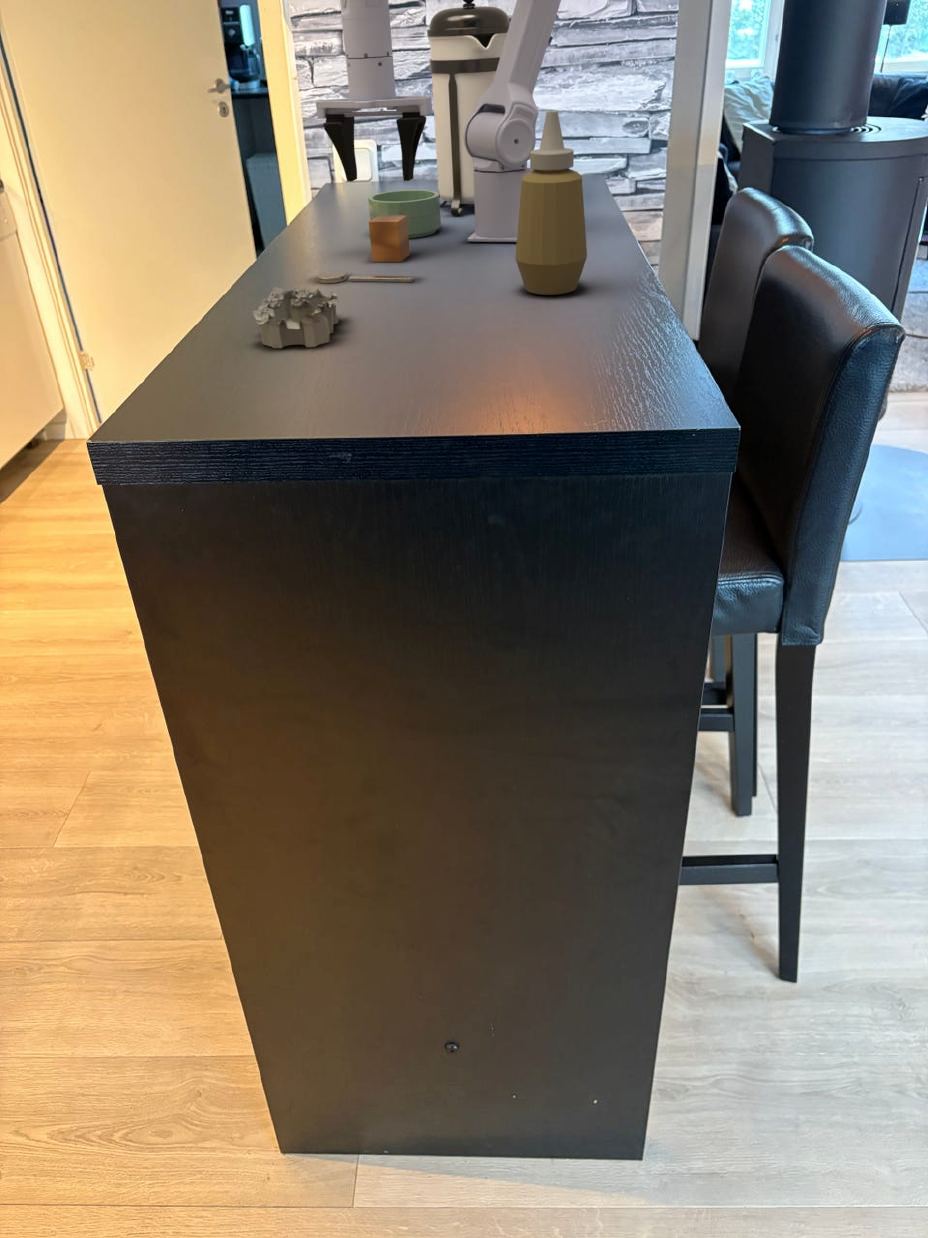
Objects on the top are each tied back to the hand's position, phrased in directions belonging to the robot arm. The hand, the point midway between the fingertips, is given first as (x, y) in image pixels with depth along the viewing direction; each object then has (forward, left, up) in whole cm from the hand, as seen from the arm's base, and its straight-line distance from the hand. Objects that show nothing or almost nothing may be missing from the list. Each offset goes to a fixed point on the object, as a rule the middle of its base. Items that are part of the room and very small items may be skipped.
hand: (380, 179), depth 120 cm
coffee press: (-3, -35, -10) cm, 36 cm away
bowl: (+2, -15, -9) cm, 18 cm away
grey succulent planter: (-2, +35, -10) cm, 37 cm away
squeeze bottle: (-25, +16, -10) cm, 31 cm away
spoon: (-1, +13, -9) cm, 16 cm away
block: (-1, +2, -9) cm, 10 cm away
